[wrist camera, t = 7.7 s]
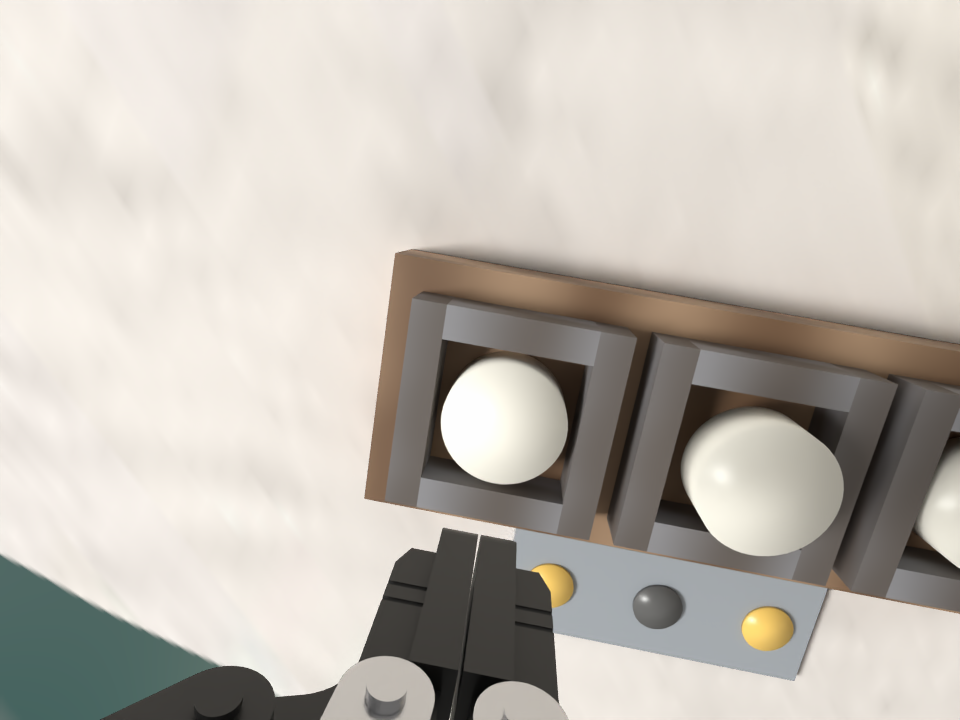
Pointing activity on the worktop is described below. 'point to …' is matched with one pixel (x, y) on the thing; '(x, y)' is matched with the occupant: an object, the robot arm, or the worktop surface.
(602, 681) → the worktop surface
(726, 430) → the button middle
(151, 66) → the worktop surface
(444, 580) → the robot arm
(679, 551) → the button board
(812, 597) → the pattern card
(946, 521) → the button right
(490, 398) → the button left
